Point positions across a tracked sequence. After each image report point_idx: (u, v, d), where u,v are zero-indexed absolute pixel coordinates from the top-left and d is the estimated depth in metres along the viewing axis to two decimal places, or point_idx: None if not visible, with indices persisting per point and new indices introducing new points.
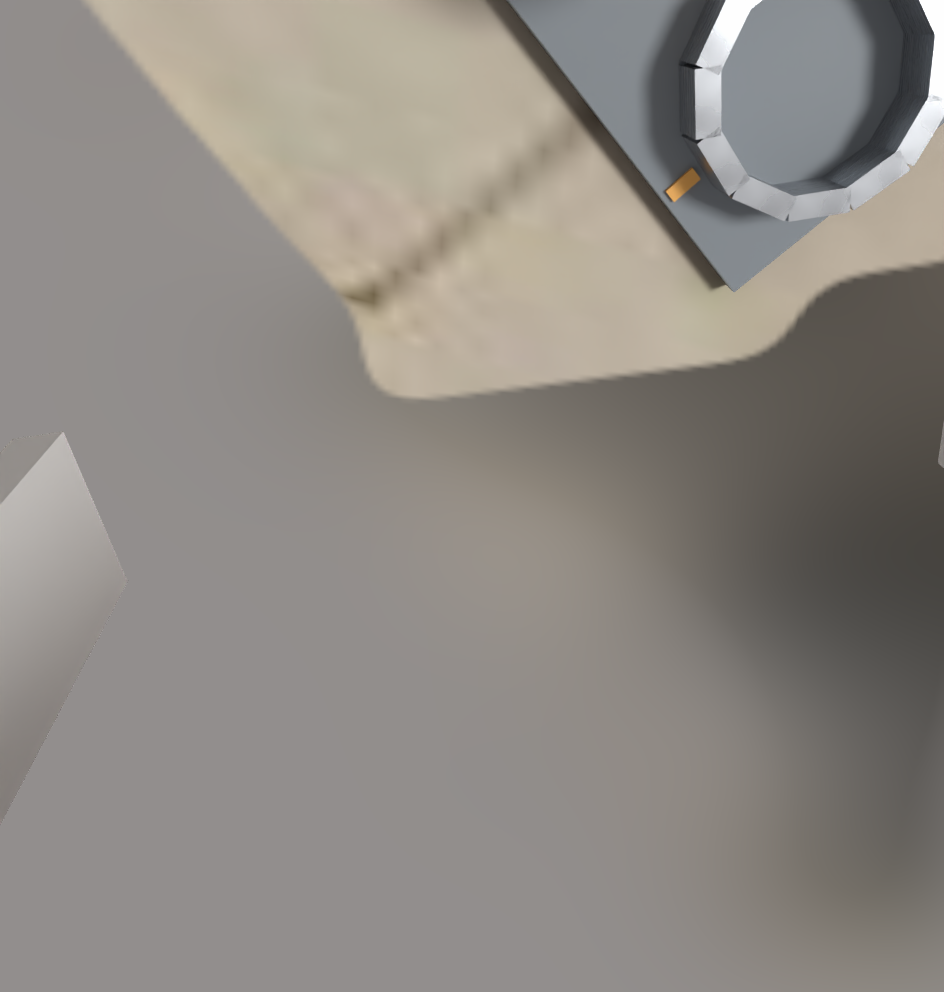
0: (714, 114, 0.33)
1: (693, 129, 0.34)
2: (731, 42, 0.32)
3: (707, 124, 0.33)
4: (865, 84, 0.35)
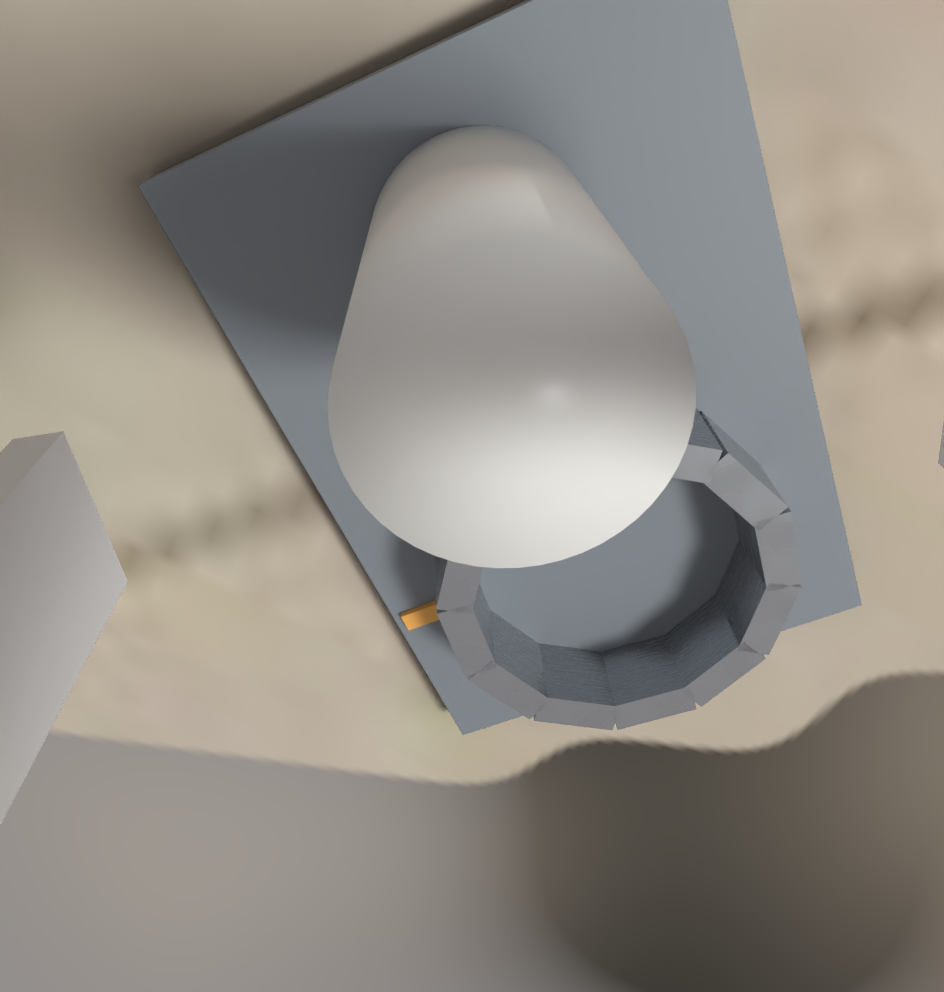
0: (467, 589, 0.24)
1: (438, 591, 0.24)
2: None
3: (455, 597, 0.24)
4: (679, 576, 0.27)
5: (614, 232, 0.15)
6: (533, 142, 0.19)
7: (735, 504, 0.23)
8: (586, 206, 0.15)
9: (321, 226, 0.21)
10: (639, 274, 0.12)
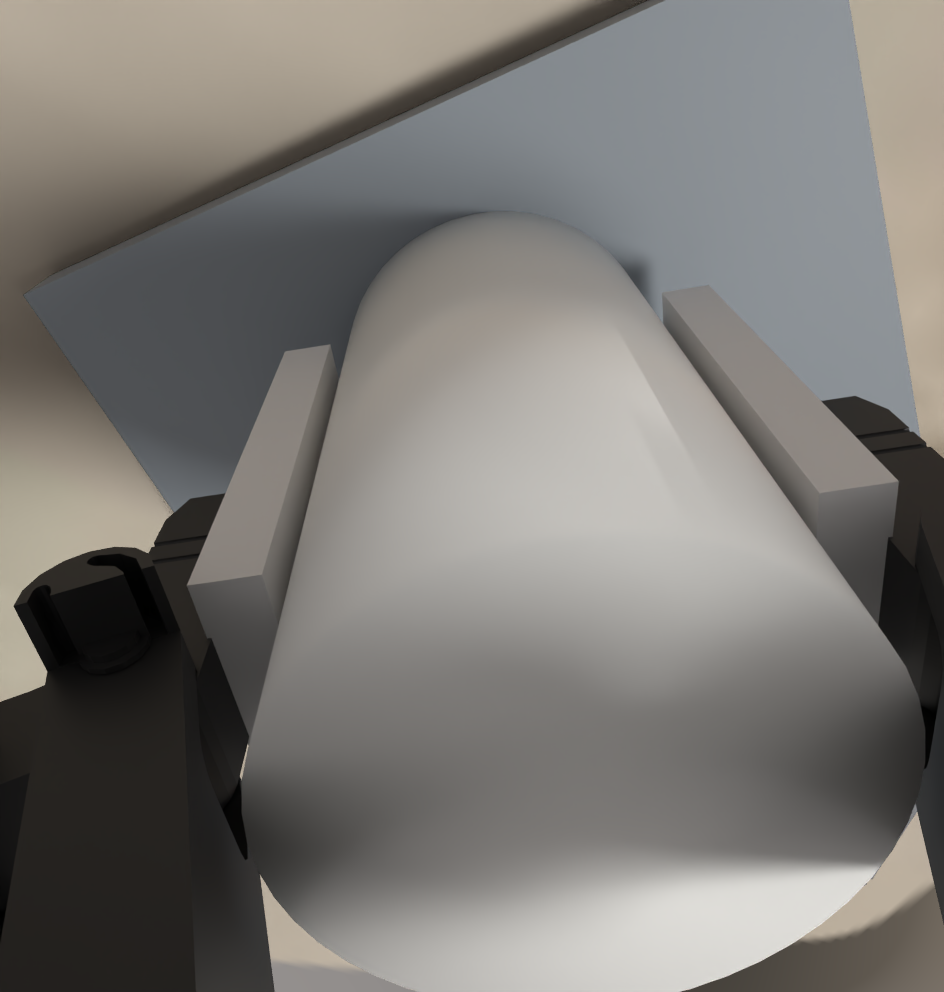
0: None
1: None
2: None
3: None
4: None
5: (734, 427, 0.09)
6: (576, 238, 0.14)
7: None
8: (689, 386, 0.09)
9: (280, 346, 0.15)
10: (842, 596, 0.06)
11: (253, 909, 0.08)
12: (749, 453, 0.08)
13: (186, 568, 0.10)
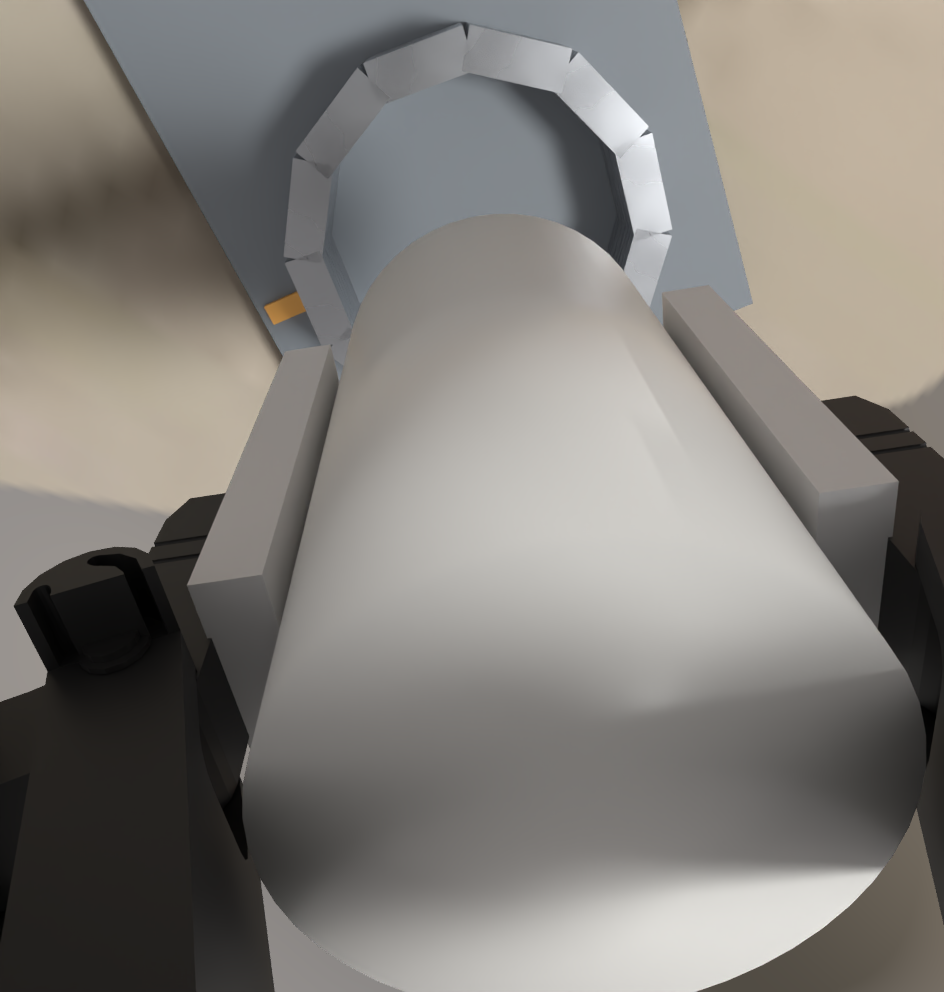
0: (314, 231, 0.22)
1: (286, 240, 0.23)
2: (351, 139, 0.21)
3: (302, 241, 0.23)
4: None
5: (734, 431, 0.09)
6: (577, 241, 0.14)
7: (592, 122, 0.21)
8: (689, 390, 0.09)
9: None
10: (843, 602, 0.06)
11: (253, 909, 0.08)
12: (750, 458, 0.08)
13: (186, 568, 0.10)
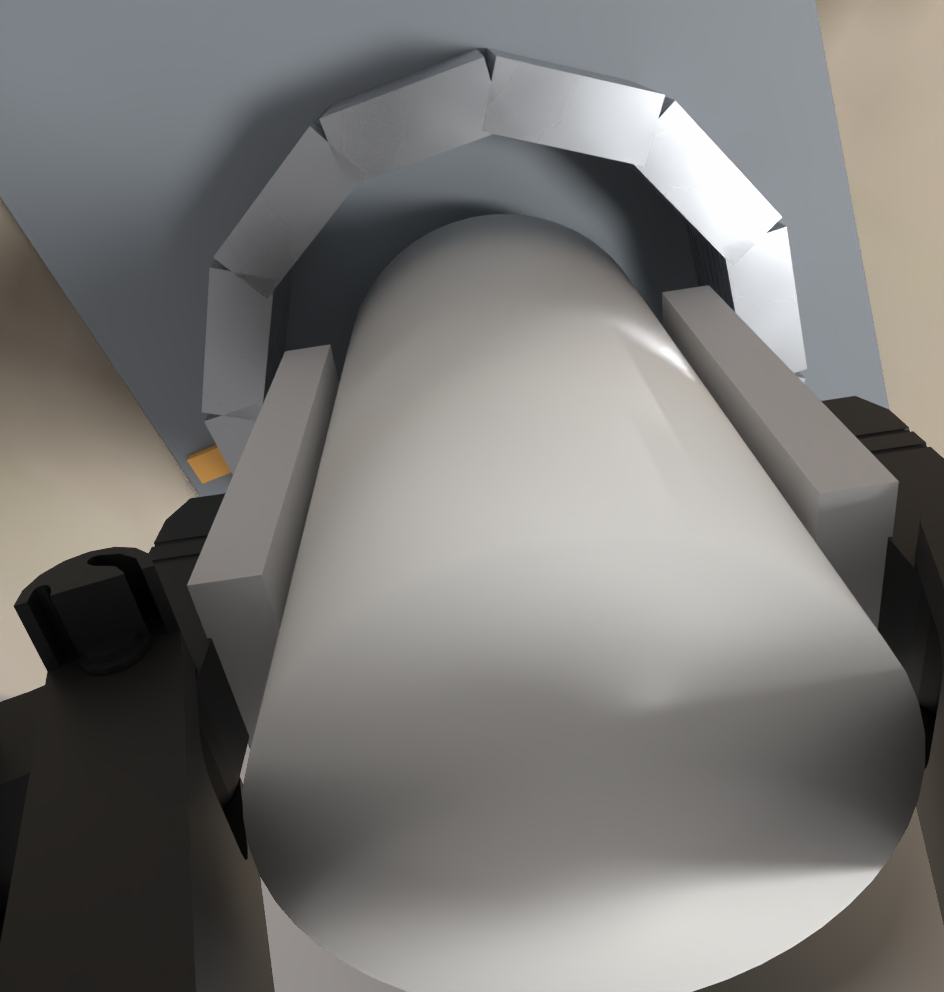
0: (248, 375, 0.14)
1: (207, 384, 0.15)
2: (303, 239, 0.13)
3: (231, 390, 0.14)
4: None
5: (734, 431, 0.09)
6: (577, 241, 0.14)
7: (691, 211, 0.13)
8: (689, 390, 0.09)
9: None
10: (842, 602, 0.06)
11: (253, 909, 0.08)
12: (749, 458, 0.08)
13: (186, 568, 0.10)
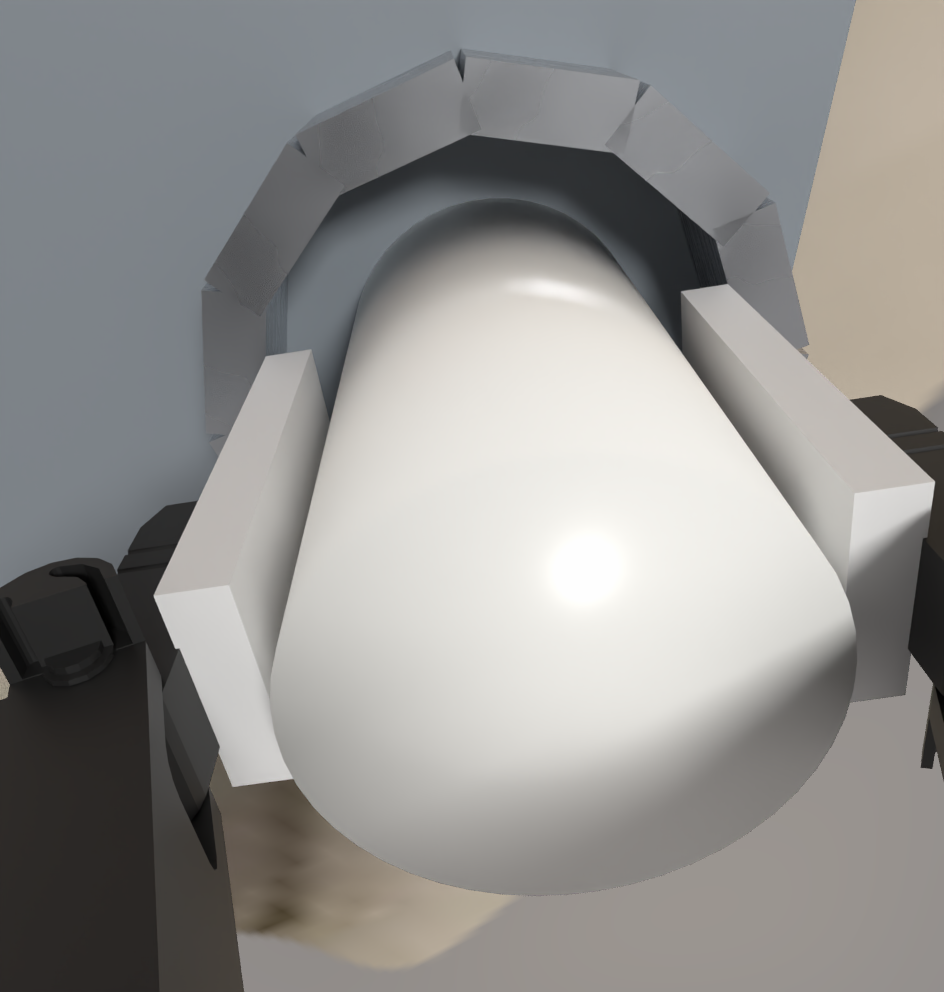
0: None
1: None
2: None
3: None
4: None
5: (701, 384, 0.10)
6: (566, 222, 0.15)
7: (407, 153, 0.13)
8: (661, 348, 0.10)
9: None
10: (780, 510, 0.07)
11: (222, 919, 0.08)
12: (712, 403, 0.09)
13: (158, 577, 0.10)
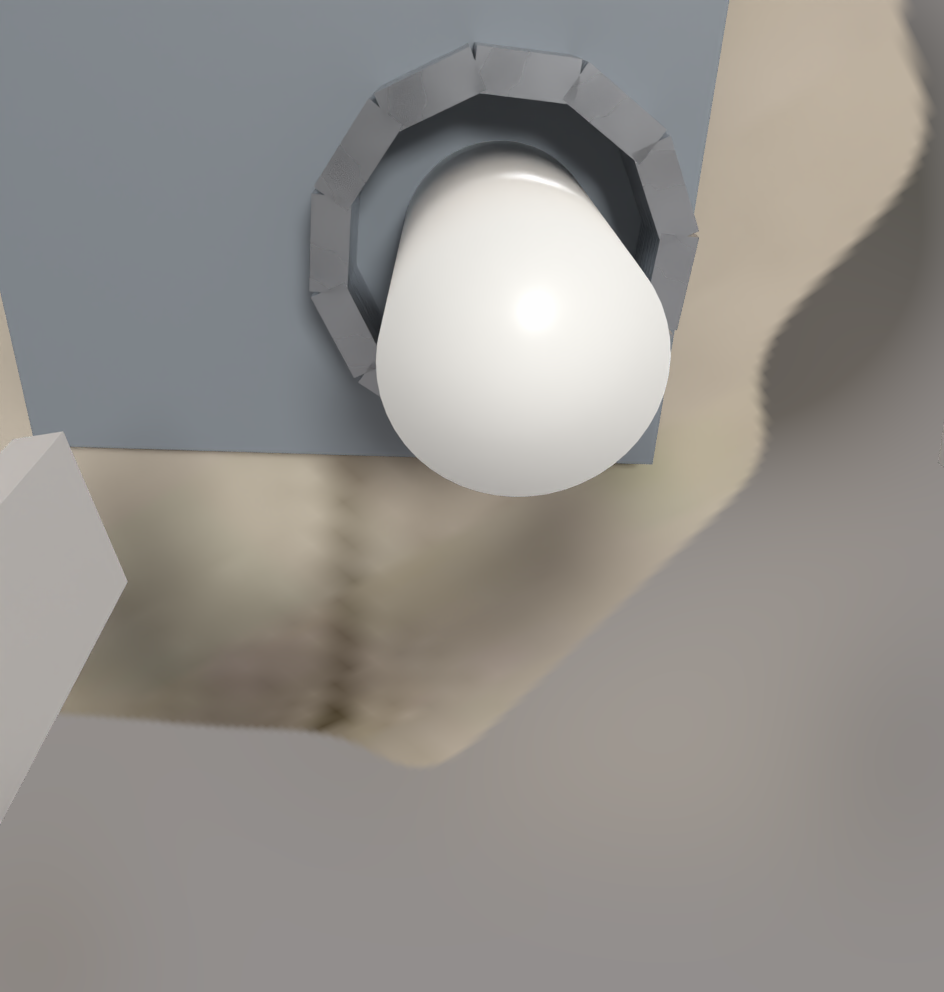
0: None
1: None
2: (364, 329, 0.23)
3: None
4: None
5: (607, 224, 0.18)
6: (542, 154, 0.23)
7: (441, 105, 0.21)
8: (584, 202, 0.18)
9: (96, 342, 0.26)
10: (622, 251, 0.15)
11: None
12: (606, 225, 0.17)
13: None
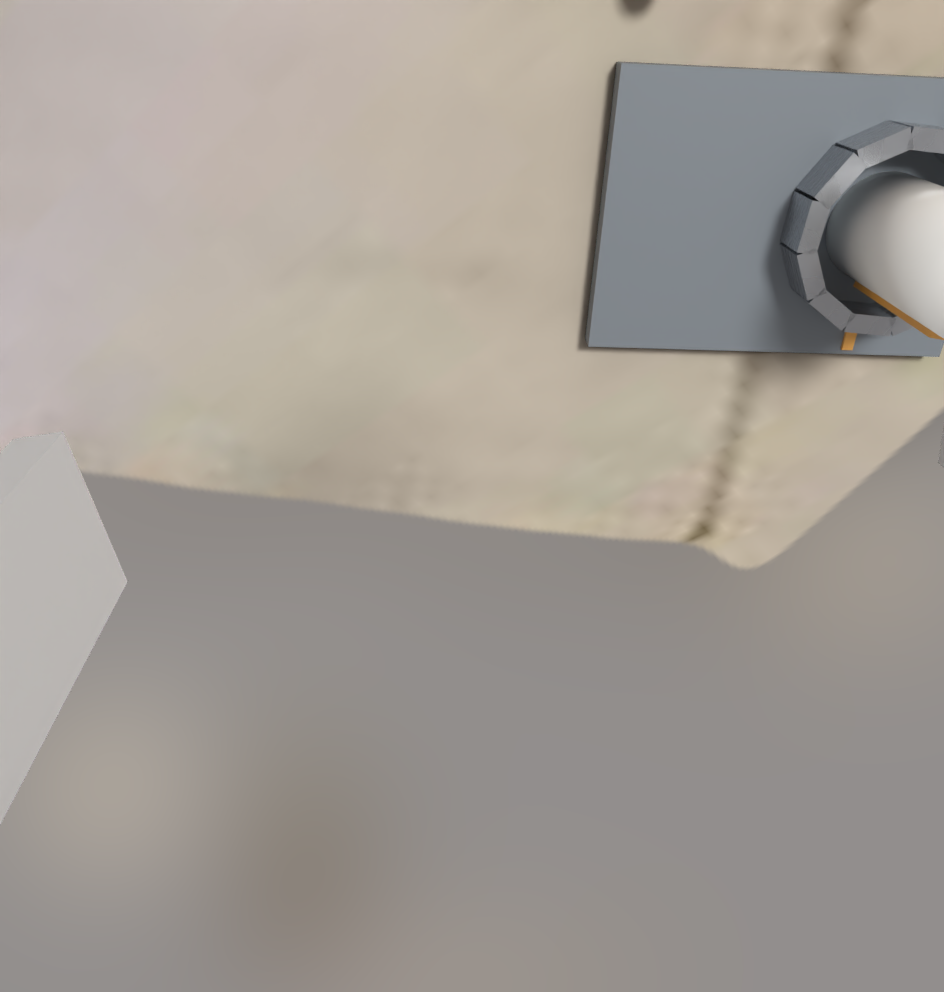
0: (841, 310, 0.44)
1: (834, 324, 0.45)
2: (819, 273, 0.43)
3: (841, 318, 0.45)
4: None
5: None
6: None
7: (889, 155, 0.41)
8: None
9: (642, 284, 0.46)
10: None
11: None
12: None
13: None
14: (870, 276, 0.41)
